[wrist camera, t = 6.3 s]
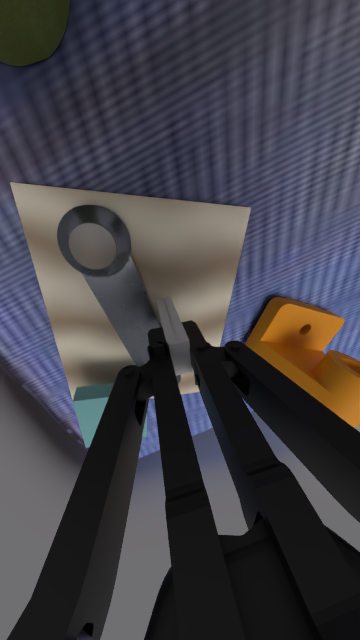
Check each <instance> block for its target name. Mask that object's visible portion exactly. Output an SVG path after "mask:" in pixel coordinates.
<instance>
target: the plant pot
mask: <svg viewBox="0 0 360 640" xmlns="http://www.w3.org/2000/svg"><path fill="white" fill-rule="evenodd" d="M69 6H70V0H0V62H2V63H4V64H8V65H12V66H25V65H29V64H33V63H35V62H38V61H41V60H43V59H46V58H48V57H50V56H51V55H52V54H53V52H54V51H55V50H56V49H57V47H58V46H59V44H60V42H61V40H62V38H63V35H64V33H65V30H66V26H67V22H68V16H69Z"/></svg>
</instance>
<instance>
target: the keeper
mask: <svg viewBox="0 0 360 640" xmlns="http://www.w3.org/2000/svg"><path fill="white" fill-rule="evenodd" d="M113 385H114V383H110V384H101V385H92V386H83V387H77V388H76V391H75V395H74V398H73V405H74V408H75V412H76V415H77V419H78V422H79V426H80V429H81V432H82V436H83V439H84V443H85V446H86V448H87V447H90V445H91V442H92V439H93V437H94V434H95V432H96V429H97V426H98V424H99V421H100V419H101V416H102V414H103V411H104V408H105V406H106V403H107V401H108V398H109V395H110V393H111V390H112V388H113ZM143 437H147V413H146V418H145V424H144V429H143V434H142V438H143Z"/></svg>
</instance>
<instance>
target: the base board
mask: <svg viewBox="0 0 360 640" xmlns="http://www.w3.org/2000/svg"><path fill="white" fill-rule="evenodd" d="M10 185H11V188H12V191H13V195H14V198H15V202H16V205H17V209H18V212H19V216H20V219H21V223H22V226H23V230H24V233H25V236H26V240H27V243H28V247H29V250H30V254H31V257H32V261H33V264H34V268H35V271H36V275H37V278H38V281H39V285H40V288H41V292H42V295H43V299H44V302H45V306H46V309H47V313H48V316H49V320H50V323H51V326H52V330H53V333H54V337H55V340H56V344H57V347H58V351H59V354H60V358H61V361H62V364H63V368H64V371H65V375H66V378H67V382H68V385H69V389H70V392H71V396H72V399H73V398H74V395H75V391H76V388H77V387H83V386H92V385H101V384H110V383H115V380H116V377H117V375H118V373H119V371H120V370H121V369H122V368H124V367H126V366H128V365H135V363H134V361H133V359H132V358H131V356H130V354H129V353H128V351H127V349H126V348H125V346H124V344H123V343H122V341H121V339H120V337H119V336H118V334H117V332H116V331H115V329H114V327H113V326H112V324H111V322H110V321H109V319H108V317H107V316H106V314H105V312H104V310H103V309H102V307H101V305H100V304H99V302H98V300H97V299H96V297H95V295H94V294H93V292H92V290H91V288H90V287H89V285H88V283H87V282H86V280H85V278H84V277H83V275H82V273H81V272H79V271H77V270H76V269H75V268H73V267H72V266H71V265H70V264H69V263H68V262H67V261H66V259H65V258H64V257H63V255H62V253H61V251H60V248H59V246H58V242H57V229H58V225H59V222H60V220H61V218H62V217H63V216H64V214H65V213H67V212H68V211H69V210H71V209H72V208H74V207H77V206H81V205H100V206H104V207H107V208H109V209H111V210H113V211H114V212H116V213H117V214H118V215H119V216H120V217H121V218H122V219H123V221H124V222H125V224H126V225H127V227H128V229H129V233H130V237H131V252H132V255H133V257H134V260H135V262H136V264H137V267H138V269H139V272H140V274H141V276H142V279H143V281H144V284H145V286H146V288H147V291H148V293H149V296H150V298H151V301H152V303H153V305H154V308H155V310H156V313H157V315H158V317H159V313H158V308H157V303H156V300H159V299H164V298H169V297H171V299H172V301H173V304H174V306H175V308H176V311H177V313H178V315H179V318H180V320H181V322H185V321H190V320H192V321H194V322H195V323H196V324H197V326H198V328H199V329H200V331H201V333H202V335H203V337H204V338H205V340H206V342H208V343H210V344H211V345H212V346H214V347H220V343H221V338H222V334H223V329H224V325H225V321H226V316H227V312H228V308H229V303H230V299H231V294H232V290H233V286H234V281H235V277H236V272H237V268H238V264H239V259H240V255H241V250H242V246H243V242H244V237H245V233H246V228H247V224H248V220H249V215H250V211H251V208H249V207H239V206H230V205H220V204H211V203H201V202H192V201H182V200H173V199H163V198H154V197H145V196H135V195H126V194H116V193H107V192H97V191H88V190H78V189H69V188H59V187H50V186H40V185H31V184H21V183H12V182H10ZM69 248H70V251H71V253H72V255H73V257H74V258H75V259H76V260H77V261H78V262H79V263H80V264H81V265H83V266H85V267H87V268H90V269H103V268H105V267H107V266H109V265H110V264H111V263H112V262H113V260H114V258H115V256H116V252H117V244H116V240H115V238H114V236H113V234H112V233H111V232H110V231H109V230H108V229H107V228H106V227H104V226H103V225H101V224H98V223H94V222H88V223H84V224H81V225H79V226H77V227H76V228H75V229H74V230H73V231H72V232H71V234H70V237H69ZM159 320H160V318H159ZM192 371H193V368H192ZM178 386H179V390H180V394H186V393H194V392H200V391H199V388H198V386H197V385H195V377H194V371H193V372H189V373H185V374H181V380H180V383H179V384H178ZM151 398H154V396H152V397H151Z"/></svg>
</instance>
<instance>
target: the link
mask: <svg viewBox="0 0 360 640" xmlns="http://www.w3.org/2000/svg"><path fill="white" fill-rule="evenodd" d="M88 222H94V223H98V224H101V225H103V226H104V227H106V228H107V229H108V230H109V231H110V232H111V233H112V234H113V236H114V238H115V240H116V244H117V252H116V256H115V258H114V260H113V262H112V263H111V264H110V265H109V266H107V267H105V268H103V269H90V268H87V267H85V266H83V265H81V264H80V263H79V262H78V261H77V260H76V259H75V258H74V257H73V255H72V253H71V251H70V248H69V237H70V234H71V232H72V231H73V230H74V229H75V228H76V227H77V226H79V225H81V224H84V223H88ZM57 242H58V246H59V248H60V251H61V253H62V255H63V257H64V258H65V259H66V261H67V262H68V263H69V264H70V265H71V266H72V267H73V268H75V269H76V270H77V271H79V272H81V273H82V275H83V277H84V278H85V280H86V282H87V283H88V285H89V287H90V288H91V290H92V292H93V294H94V295H95V297H96V299H97V300H98V302H99V304H100V305H101V307H102V309H103V310H104V312H105V314H106V316H107V317H108V319H109V321H110V322H111V324H112V326H113V327H114V329H115V331H116V332H117V334H118V336H119V337H120V339H121V341H122V343H123V344H124V346H125V348H126V349H127V351H128V353H129V354H130V356H131V358H132V359H133V361H134V363H135V365H136V366H138V367H140V366H142V365H144V364H145V363H147V362H148V360H149V359H150V358H149V355H148V351H147V347H148V346H149V341H148V332H149V330H150V329H155V328H159V327H161V323H160V320H159V317H158V315H157V313H156V310H155V308H154V305H153V303H152V301H151V298H150V296H149V293H148V291H147V288H146V286H145V284H144V281H143V279H142V276H141V274H140V272H139V269H138V267H137V264H136V262H135V260H134V257H133V255H132V252H131V237H130V233H129V229H128V227H127V225H126V224H125V222H124V221H123V219H122V218H121V217H120V216H119V215H118V214H117V213H116V212H114V211H113V210H111V209H109V208H107V207H104V206H100V205H81V206H77V207H74V208H72V209H71V210H69V211H68V212H67V213H65V214H64V216H63V217H62V218H61V220H60V222H59V225H58V229H57ZM176 378H177V382H178V384H179V383H180V380H181V375H177V376H176Z"/></svg>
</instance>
